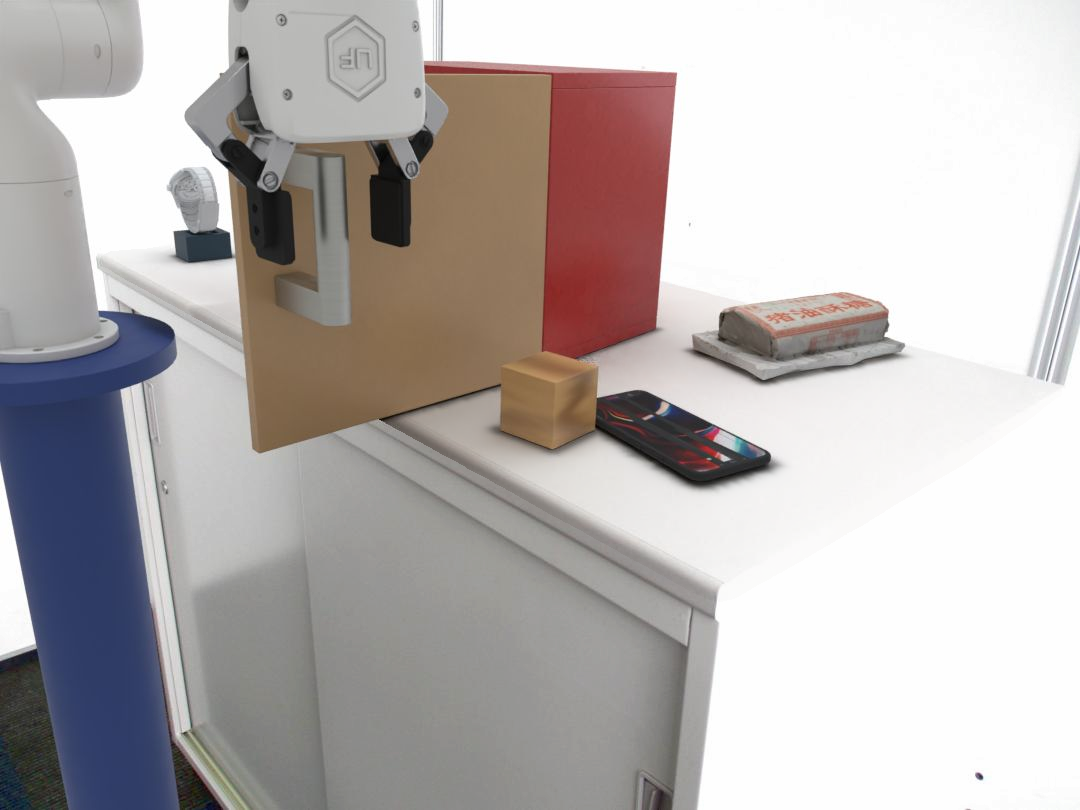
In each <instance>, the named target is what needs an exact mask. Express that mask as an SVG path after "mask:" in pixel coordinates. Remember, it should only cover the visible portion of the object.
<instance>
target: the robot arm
mask: <svg viewBox="0 0 1080 810" xmlns="http://www.w3.org/2000/svg"><path fill="white" fill-rule="evenodd" d="M418 3H419V2H418V0H228V14H227V15H228V19H227V40H228V43H227V44H228V45H227V49H228V51H227V52H228V53H227V54H228V55H227V56H228V68H227V69H226V70H225V71H224V72H222V73H223V74H222V75H221V76H220V75H219V77H218V78H217V79H216V80H215V81H214V82H213V83H212V84H211V85H210V86H209V87H208V88H206V90H205V91H204V92H203V93H202V94H201V95H200V96H198V97H197V99H195V101H194V102H192V103H191V105H190V106H188V107H187V108H186V110H185V112H184V115H183V116H184V121H185V122H186V124H187V125H188V127H189V128H190V129H191V130H192V131H193V132H194V133H195V135H196V136H197V137H198V138H199V139H200V140H201V142H202V143H203V144H204V145H205V146H206V147H208V148H209V150H210V152H211V154H212V156H213V157H214V158H215V160H217V161H218V162H219V163H220V164H221V165H222V166H223V167H224V168H225V169H226V170H227V171H228V170H229V171H230V172H231V173H232V174H233V175H234V176H235V178H236V181H237V182H238V183H239V184H240V185H243V186H246V194H247V206H248V219H249V231H250V239H251V242H252V244H253V246H254V247H255V250H256V254H257V256H258V257H259V258H262V259H265V260H268V261H271V262H274V263H276V264H279V265H289V264H292V263H293V261H295V242H294V226H293V210H292V197H291V195H290V193H289V191H285V190H281V182H282V180H283V177H284V175H285V172H286V170H287V167H288V165H289V162H290V160H291V157H292V155H293V152H294V150H295V147H296V145H297V143H331V142H350V141H364V142H365V144H366V146H367V148H368V150H369V152H370V154H371V157H372V159H373V161H374V163H375V165H376V167H377V169H378V174H373V175H371V178H370V180H369V188H370V218H371V236H372V238H373V239H374V240H376V241H378V242H382V243H386V244H389V245H393V246H397V247H408V246H409V245H410V242H411V238H410V226H411V179H415V178H416V177H417V176H418V175H419V172H420V163H421V162H422V160H423V159H424V158H425V156H426V155H427V153H428V152H429V151H430V149H431V148H432V146H433V142H434V139H433V138H434V136H436V135H437V133H438V132H439V130H440V128H441V126H442V125H443V123H444V121H445V119H446V118H447V115H448V107H447V105H446V104H445V103H444V102H443V101H442V100H441V99H440V98H439V96H438V95H437V94H436V93H435V92H434V91H433V90H432V89H431V88H430V87H429V86H428V85H427V84H426V83H425V74H424V61H425V60H424V50H423V49H424V48H423V37H422V28H421V17H420V11H419V4H418ZM143 37H144V36H143V28H142V19H141V11H140V2H139V0H0V363H13V364H22V363H44V362H53V361H60V360H66V359H72V358H77V357H81V356H85V355H89V354H92V353H96V352H98V351H101V350H103V349H106V348H108V347H109V346H111V345H113V344H114V343H115V342H116V341H117V340H118V338H119V329H118V326H117V324H116V323H114V322H113V321H111V320H109V319H106V318H102V317H99V312H98V311H99V306H98V299H97V292H96V286H95V278H94V271H93V264H92V258H91V257H92V256H91V251H90V244H89V238H88V237H89V236H88V230H87V224H86V223H87V222H86V217H85V210H84V203H83V196H82V190H81V183H80V177H79V170H78V164H77V163H78V162H77V159H76V158H77V157H76V155H75V152H74V149H73V147H72V145H71V143H70V141H69V140H68V138H67V137H66V135H65V134H64V133H63V132H62V130H60V128H59V127H58V126H57V125H56V124H55V123H54V122H53V121H52V120H51V119H50V118H49V117H48V116H47V115H46V113H45V112H44V111H43V110H42V109H41V108H40V106H39V105H38V101H49V100H63V99H70V100H71V99H104V98H105V99H107V98H116V97H121V96H124V95H126V94H128V93H130V92H132V91H133V90H134V89H135V88H136V87H137V85H138V84H139V82H140V80H141V78H142V75H143V74H142V73H143V69H144V40H143V39H144V38H143ZM232 111H233V114H234V118H235V121H236V123H237V125H238V127H239V128H240V129H241V130H243V131H245V132H246V133H249V134H250V136H249V138H248V141H247V143H246V145H245V144H244V143H243V142H242V141H239V140H238V139H237V138H236V136H235V135H234V134H233V131H232V130H231V129H230V127H229V126H228V121H227V120H228V116H229V115H230V113H231V112H232Z"/></svg>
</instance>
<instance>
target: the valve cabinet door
mask: <svg viewBox="0 0 1080 810" xmlns="http://www.w3.org/2000/svg"><path fill="white" fill-rule="evenodd" d="M223 73H224V72H219V77H220V76H221V75H222V74H223ZM425 83H426V84H427V85H428V86H429V87H430V88H431V89H432V90H433V91H434V92H435V93H436V94H437V95H438V96H439V98H440V99H441V100H442V101H443V102H444V103H445V104H446V105H447V107H448V115H447V118H446V119H445V121H444V123H443V125H442V126H441V128H440V130H439V132H438V133H437V135H436V136H434V138H433V139H434V142H433V146H432V148H431V149H430V151H429V152H428V153H427V155H426V156H425V158H424V159H423V160H422V162H421V163H420V172H419V175H418V176H417V177H416V178H415V179H411V226H410V238H411V242H410V245H409V246H408V247H397V246H393V245H389V244H386V243H382V242H378V241H376V240H374V239H373V238H372V236H371V218H370V188H369V180H370V178H371V175H373V174H378V169H377V167H376V165H375V163H374V161H373V159H372V157H371V154H370V152H369V150H368V148H367V146H366V144H365V142H364V141H350V142H331V143H297V145H296V147H295V150H294V152H293V155H292V157H291V160H290V162H289V165H288V167H287V170H286V172H285V175H284V177H283V180H282V182H281V190H285V191H289V193H290V195H291V197H292V210H293V226H294V242H295V261H293V263H292V264H289V265H279V264H276V263H274V262H271V261H268V260H265V259H262V258H259V257H258V256H257V254H256V250H255V247H254V246H253V244H252V242H251V239H250V231H249V219H248V206H247V194H246V186H243V185H240V184H239V183H238V182H237V181H236V178H235V176H234V175H233V174H232V173H231V172H230V171H229V170H228V169H227V175H228V176H227V177H228V186H229V188H228V189H229V198H230V209H231V221H232V233H233V244H234V256H235V266H236V279H237V289H238V301H239V312H240V313H239V314H240V324H241V335H242V346H243V358H244V369H245V381H246V391H247V402H248V403H247V405H248V415H249V423H250V424H249V425H250V436H251V448H252V450H253V451H254V452H256V453H257V454H264V453H266V452H270V451H274V450H276V449H282V448H284V447H287V446H290V445H294V444H298V443H301V442H305V441H308V440H312V439H315V438H318V437H319V438H320V437H322V436H326V435H329V434H332V433H336V432H340V431H343V430H346V429H349V428H353V427H357V426H360V425H364V424H367V423H370V422H374V421H377V420H381V419H384V418H388V417H391V416H395V415H398V414H401V413H404V412H409V411H411V410H415V409H419V408H422V407H425V406H429V405H432V404H436V403H439V402H442V401H446V400H450V399H453V398H456V397H460V396H463V395H467V394H471V393H474V392H477V391H481V390H484V389H488V388H491V387H494V386H498V385H501V366H503V365H506V364H509V363H512V362H515V361H518V360H521V359H524V358H526V357H529V356H532V355H535V354H538V353H541V352H542V326H543V298H544V270H545V242H546V213H547V185H548V157H549V129H550V101H551V75H545V74H425ZM227 121H228V126H229V127H230V129H231V130H232V131H233V134H234V135H235V136H236V138H237V139H238V140H239V141H242V142H243V143H244V144H245V145H246V143H247V141H248V138H249V136H250V134H249V133H246V132H245V131H243V130H241V129H240V128H239V127H238V125H237V123H236V121H235V118H234V114H233V111H232V112H231V113H230V115H229V116H228V120H227Z"/></svg>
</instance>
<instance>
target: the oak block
mask: <svg viewBox="0 0 1080 810" xmlns="http://www.w3.org/2000/svg"><path fill="white" fill-rule="evenodd" d="M599 370H600V369H599V366H598V365H596V364H592V363H589V362H585V361H582V360H579V359H576V358H574V359H572V358H568V357H565V356H561V355H558V354H554V353H551V352H548V351H544V352H541V353H538V354H535V355H532V356H529V357H526V358H524V359H521V360H518V361H515V362H512V363H509V364H506V365H503V366H501V384H500V408H499V409H500V413H499V415H500V417H499V431H501V432H503V433H506V434H509V435H512V436H515V437H517V438H520V439H523V440H526V441H528V442H531V443H533V444H536V445H539V446H542V447H544V448H546V449H547V448H548V449H550V450H555V449H556V448H559V447H561V446H563V445H566V444H567V443H570V442H572V441H575V440H576V439H578V438H580V437H583V436H585V435H587V434H589V433H592V432H593V431H595V430H596V424H595V420H596V404H597V398H598V387H599V386H598V383H599Z"/></svg>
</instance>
